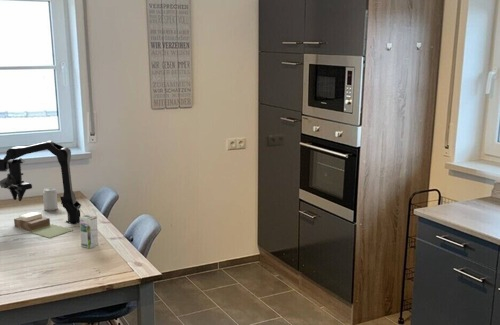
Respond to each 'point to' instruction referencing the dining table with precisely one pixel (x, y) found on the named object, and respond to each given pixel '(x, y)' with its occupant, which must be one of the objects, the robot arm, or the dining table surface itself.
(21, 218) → the cream chamfered block
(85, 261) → the dining table surface
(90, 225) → the syrup box
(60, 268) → the dining table surface
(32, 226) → the brown flat block
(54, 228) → the mat
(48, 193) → the can
